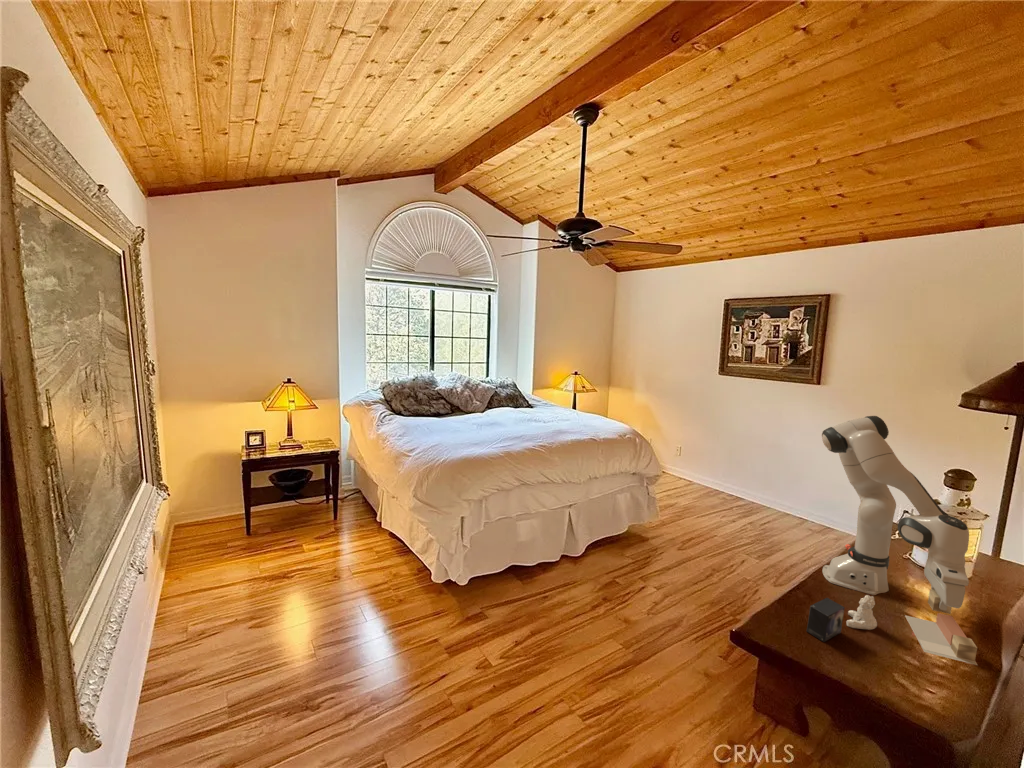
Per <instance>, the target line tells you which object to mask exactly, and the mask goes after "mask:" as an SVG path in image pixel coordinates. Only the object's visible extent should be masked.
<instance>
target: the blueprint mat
mask: <svg viewBox="0 0 1024 768" xmlns="http://www.w3.org/2000/svg"><path fill="white" fill-rule="evenodd" d="M904 617H905V618H906V620H907V622H908V624H909V626H910V628H911V630H912V632H913V634H914V636H915V637H916V639H917V641H918V643H919V645H920V647H921V649H922V650H923V652H924V653H928V654H931V655H934V656H939V657H942V658H947V659H950V660H951V659H952V660H955V661H959V662H964V663H966V664H970V665H975V666H979V665H978V663H977V662H976V660H975V661H971V660H967V659H963V658H959V657H956V655H955V654H954V652H953V650H952V649H951V645H950V644H949V643H948V641H947V640H946V638H945V636H944V635H943V633H942V632H941V630H940V628H939V627H938V625H937V624H936V621H931V620H927V619H923V618H920V617H914V616H909V615H906V614H905V615H904Z"/></svg>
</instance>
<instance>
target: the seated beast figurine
mask: <svg viewBox="0 0 1024 768" xmlns="http://www.w3.org/2000/svg"><path fill="white" fill-rule="evenodd" d="M858 604H859V606H858V607H857V608H856V610H857V611H856V610H851V609H850V610H848V611H847V615H848V616H849V617H851V618H852V619H847V620H846V621H845V622H846V626H847V627H849V628H852V629H860V630H869V631H871V630H875V629H876V628H877V626H878V622H877V619H876V618H875V616H874V614H873V612H874V611H873V608H874V607H875V605H876V601H875V597H874V595H871V596H870V594H866V595H864V597H862V598H861V597H860V600H859V601H858Z"/></svg>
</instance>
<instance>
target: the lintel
mask: <svg viewBox="0 0 1024 768" xmlns="http://www.w3.org/2000/svg"><path fill="white" fill-rule="evenodd" d="M935 622H936V624H937V625H938V627H939V628H940V630H941V632H942V633H943V635H944V636H945V638H946V640H947V641H948V643H949V644H950V645H952V639H953V635H957V636H961V637H966V638H968V637H967V636H966V634H965V633H964V631H963V630H962V628H961V627H960V625H959V624H958V622H957V620H955V618H954V617H953V615H950V614H946V613H944V614H943V613H941V612H937V615H936V620H935Z"/></svg>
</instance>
